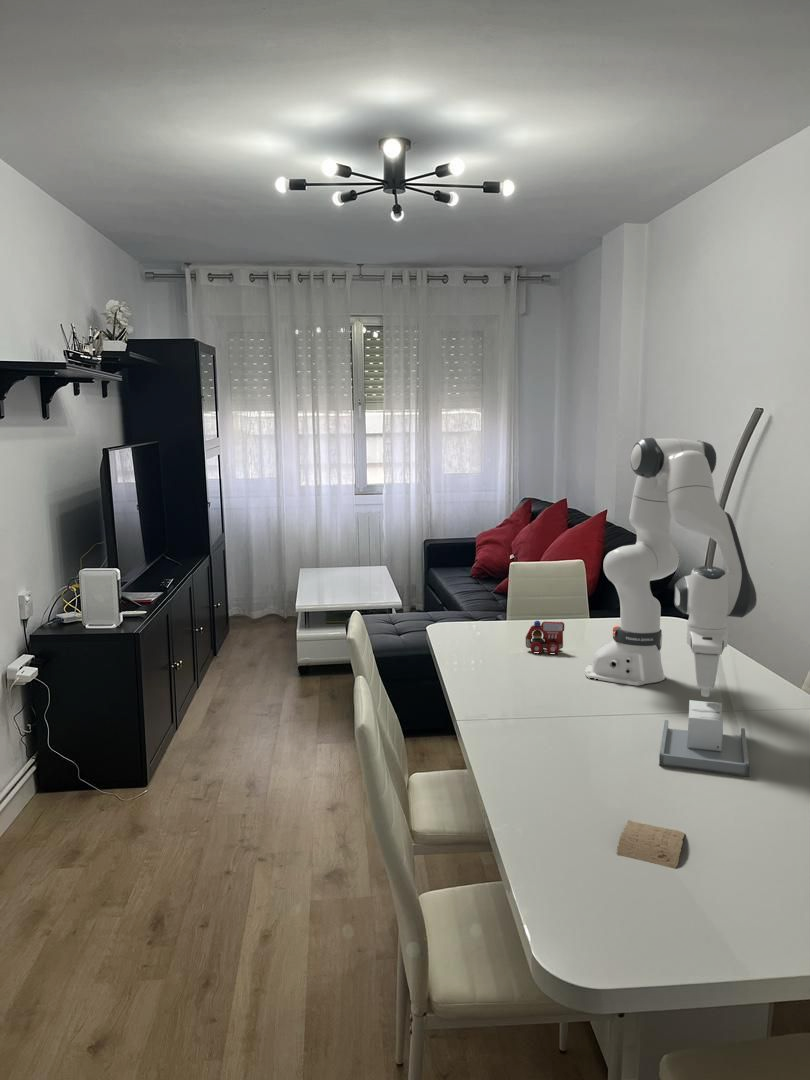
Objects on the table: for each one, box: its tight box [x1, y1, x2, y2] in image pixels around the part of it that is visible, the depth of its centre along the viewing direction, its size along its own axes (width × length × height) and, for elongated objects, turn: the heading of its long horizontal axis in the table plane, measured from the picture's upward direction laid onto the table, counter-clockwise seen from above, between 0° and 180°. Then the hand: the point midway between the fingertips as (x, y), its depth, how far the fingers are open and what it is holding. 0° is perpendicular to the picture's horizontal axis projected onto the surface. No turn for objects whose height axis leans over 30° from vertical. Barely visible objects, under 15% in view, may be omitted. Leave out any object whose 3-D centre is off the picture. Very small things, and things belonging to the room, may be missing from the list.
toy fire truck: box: [525, 620, 565, 654], centre depth 258 cm, size 7×12×10 cm, turn 75°
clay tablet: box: [616, 819, 686, 870], centre depth 138 cm, size 14×10×3 cm
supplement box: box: [687, 699, 724, 752], centre depth 182 cm, size 7×7×13 cm
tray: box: [658, 719, 750, 778], centre depth 177 cm, size 18×22×2 cm
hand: (705, 694), depth 186 cm, fingers closed
